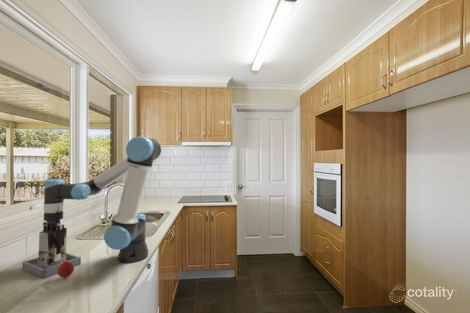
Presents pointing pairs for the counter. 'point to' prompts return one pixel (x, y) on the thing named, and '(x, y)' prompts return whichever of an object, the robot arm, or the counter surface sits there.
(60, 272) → the onion
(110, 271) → the counter surface
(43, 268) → the tray
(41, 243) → the coffee box
